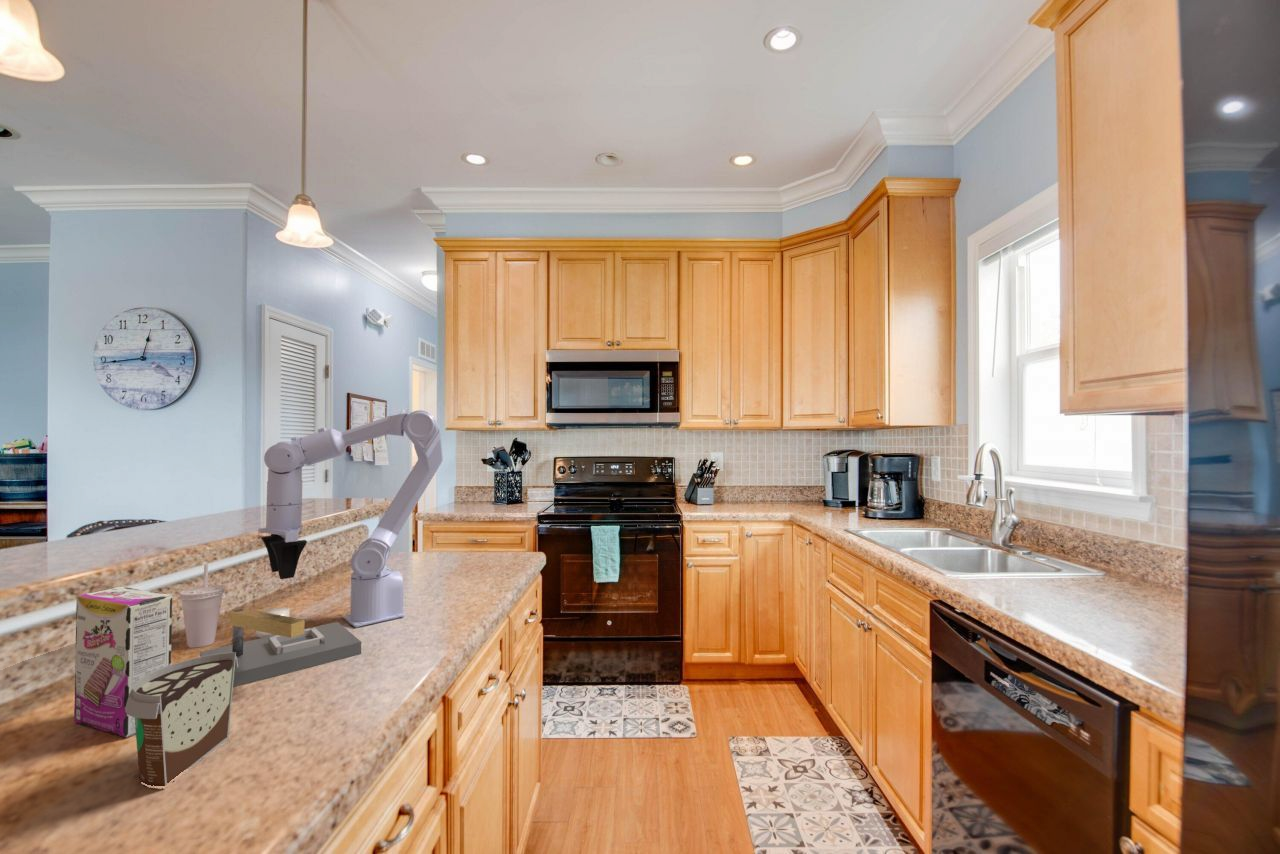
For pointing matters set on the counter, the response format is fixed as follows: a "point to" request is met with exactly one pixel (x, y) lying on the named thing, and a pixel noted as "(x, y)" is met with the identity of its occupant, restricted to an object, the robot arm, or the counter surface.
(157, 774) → the food container
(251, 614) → the tan l-shaped bar
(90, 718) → the candy bar box
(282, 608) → the plug
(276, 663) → the socket block
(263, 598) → the counter surface
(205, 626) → the smoothie
